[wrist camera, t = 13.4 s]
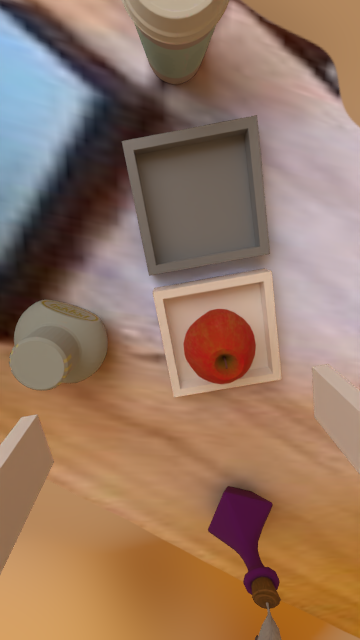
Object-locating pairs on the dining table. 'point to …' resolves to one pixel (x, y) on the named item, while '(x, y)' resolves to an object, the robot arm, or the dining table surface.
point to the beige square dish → (209, 294)
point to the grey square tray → (199, 195)
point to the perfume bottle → (249, 548)
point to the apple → (220, 346)
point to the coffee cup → (175, 33)
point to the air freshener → (57, 345)
